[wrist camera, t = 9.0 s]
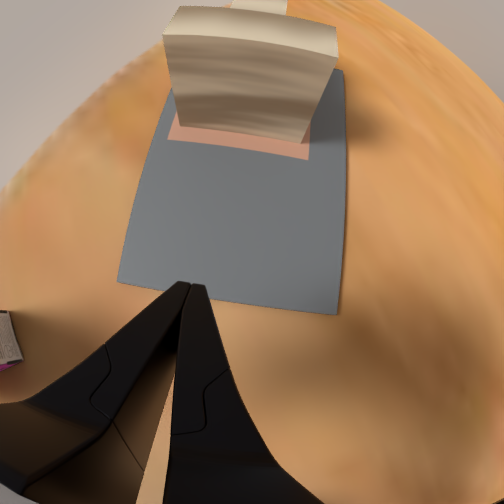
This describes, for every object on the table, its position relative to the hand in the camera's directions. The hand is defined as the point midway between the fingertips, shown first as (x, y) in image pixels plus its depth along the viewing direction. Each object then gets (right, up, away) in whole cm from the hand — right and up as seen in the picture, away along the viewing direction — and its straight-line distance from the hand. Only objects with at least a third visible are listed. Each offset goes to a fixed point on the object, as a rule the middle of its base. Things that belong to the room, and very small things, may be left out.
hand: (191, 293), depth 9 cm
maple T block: (+1, +15, +15) cm, 21 cm away
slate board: (+2, +9, +15) cm, 17 cm away
